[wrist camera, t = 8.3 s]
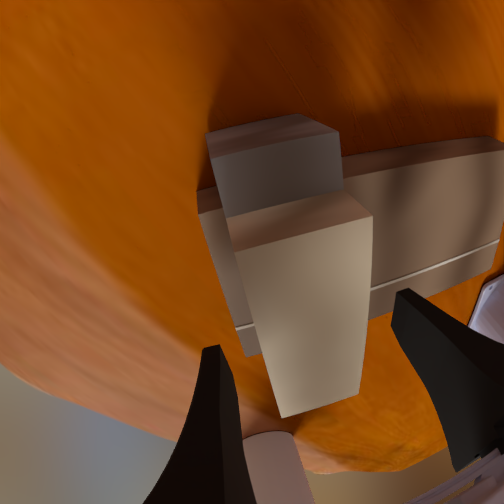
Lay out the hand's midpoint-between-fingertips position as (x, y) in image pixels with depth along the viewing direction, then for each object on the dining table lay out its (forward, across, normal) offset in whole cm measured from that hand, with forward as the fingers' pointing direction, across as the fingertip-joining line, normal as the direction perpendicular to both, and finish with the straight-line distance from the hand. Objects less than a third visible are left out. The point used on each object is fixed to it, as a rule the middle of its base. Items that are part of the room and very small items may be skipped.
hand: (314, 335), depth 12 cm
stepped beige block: (+5, 0, -1) cm, 5 cm away
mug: (+6, +6, +25) cm, 26 cm away
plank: (+6, -6, 0) cm, 8 cm away
